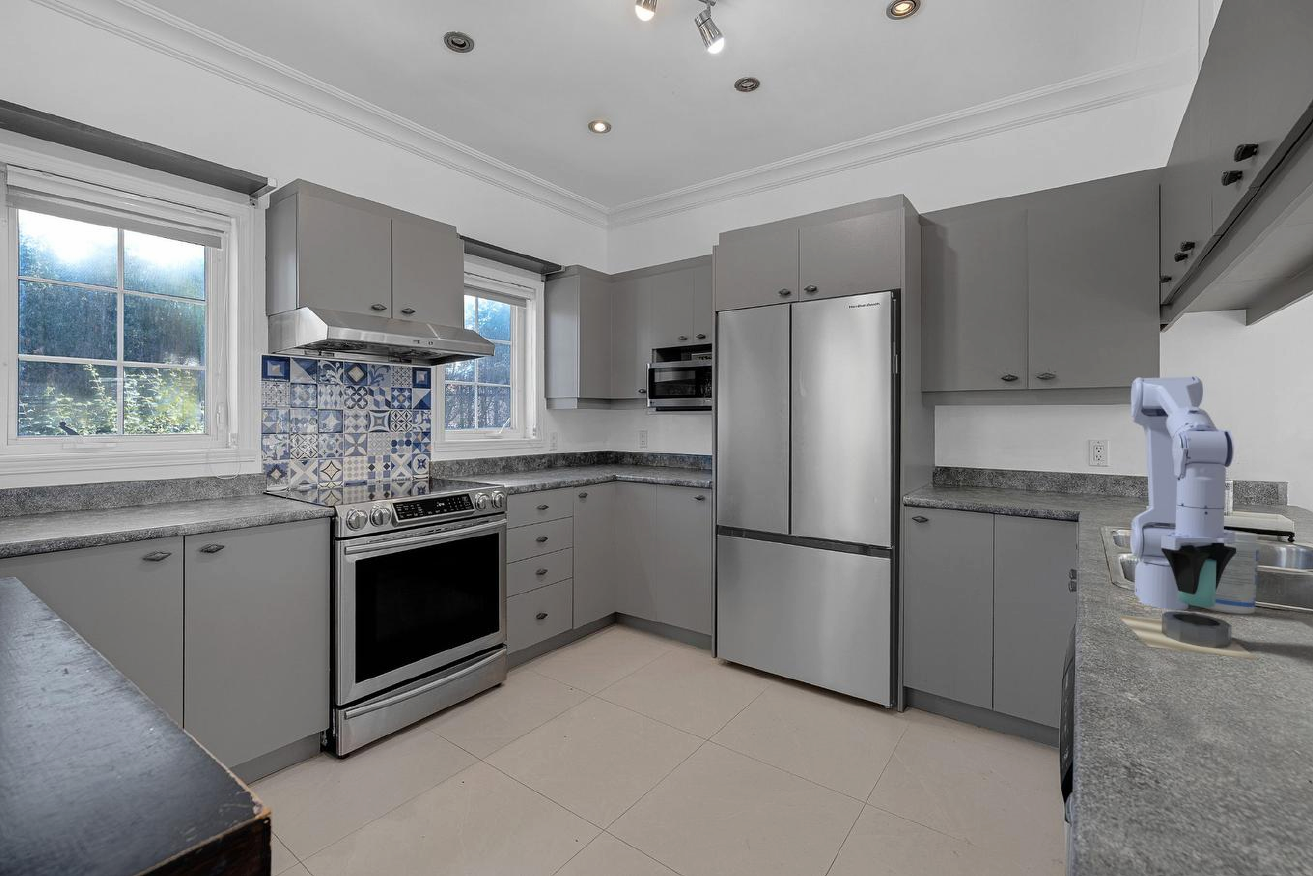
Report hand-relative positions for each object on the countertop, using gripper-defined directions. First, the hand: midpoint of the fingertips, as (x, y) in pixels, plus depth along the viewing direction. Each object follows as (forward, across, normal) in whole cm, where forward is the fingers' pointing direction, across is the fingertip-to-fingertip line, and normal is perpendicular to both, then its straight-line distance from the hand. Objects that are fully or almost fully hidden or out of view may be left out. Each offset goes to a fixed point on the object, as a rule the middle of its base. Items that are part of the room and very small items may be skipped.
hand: (1197, 591), depth 97 cm
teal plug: (+2, 0, 0) cm, 2 cm away
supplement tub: (+8, +23, +9) cm, 26 cm away
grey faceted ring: (+8, 0, 0) cm, 8 cm away
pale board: (+9, 0, +2) cm, 9 cm away
